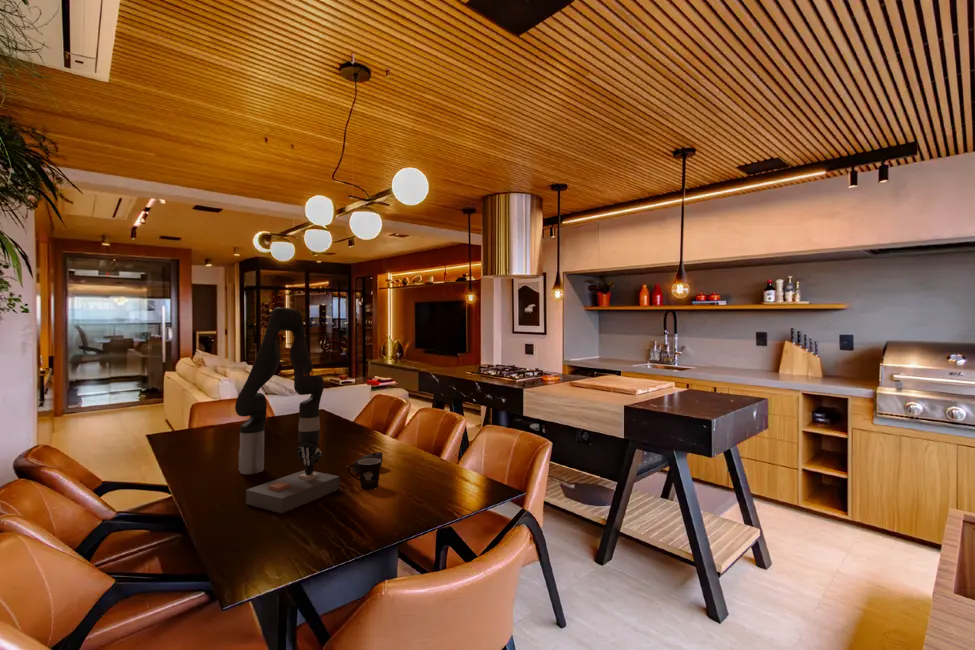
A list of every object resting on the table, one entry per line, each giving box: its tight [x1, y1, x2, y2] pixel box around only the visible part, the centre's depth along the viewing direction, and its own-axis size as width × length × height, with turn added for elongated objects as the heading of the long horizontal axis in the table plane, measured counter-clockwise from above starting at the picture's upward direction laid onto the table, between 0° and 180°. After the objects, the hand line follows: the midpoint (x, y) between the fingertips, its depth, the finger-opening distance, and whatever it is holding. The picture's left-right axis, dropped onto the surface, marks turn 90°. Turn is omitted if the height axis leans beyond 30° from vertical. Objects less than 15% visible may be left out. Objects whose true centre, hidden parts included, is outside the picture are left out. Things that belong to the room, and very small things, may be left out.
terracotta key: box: [269, 482, 291, 492], centre depth 166 cm, size 5×5×4 cm
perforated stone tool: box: [351, 451, 383, 474], centre depth 203 cm, size 15×5×7 cm, turn 134°
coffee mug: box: [347, 458, 382, 491], centre depth 182 cm, size 12×9×10 cm
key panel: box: [245, 469, 340, 514], centre depth 172 cm, size 18×26×5 cm
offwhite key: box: [299, 472, 319, 481], centre depth 178 cm, size 5×5×4 cm
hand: (309, 474), depth 178 cm, fingers closed
